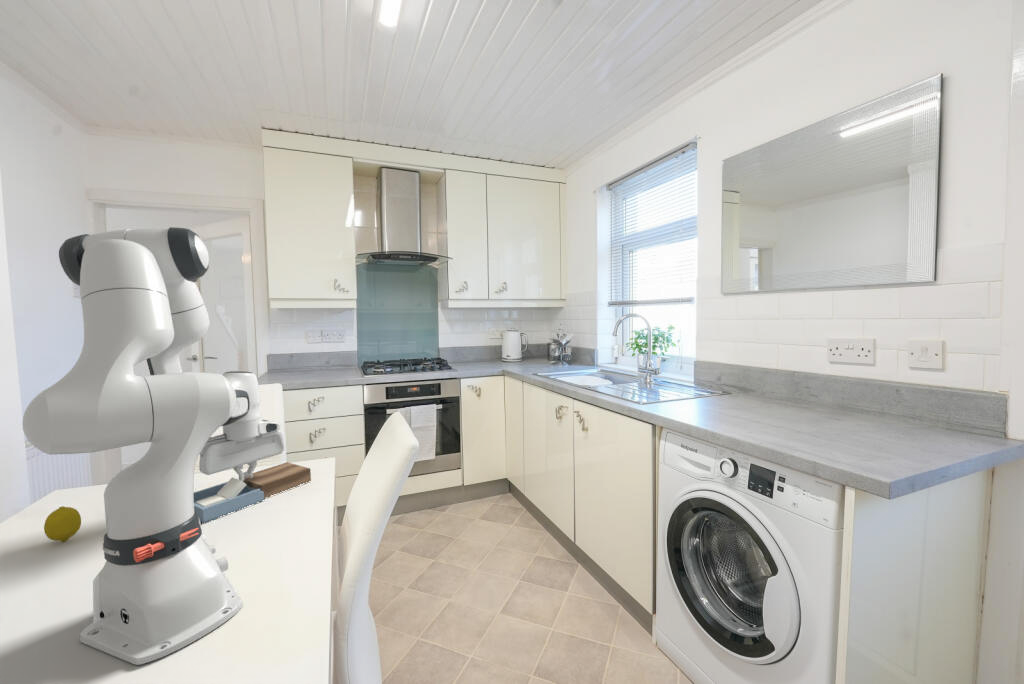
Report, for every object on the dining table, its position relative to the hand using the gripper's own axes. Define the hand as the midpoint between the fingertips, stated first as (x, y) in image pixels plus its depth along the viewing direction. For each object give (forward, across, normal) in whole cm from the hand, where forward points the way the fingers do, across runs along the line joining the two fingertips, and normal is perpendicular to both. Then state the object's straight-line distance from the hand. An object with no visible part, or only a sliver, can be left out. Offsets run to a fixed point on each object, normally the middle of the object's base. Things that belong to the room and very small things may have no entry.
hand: (246, 479), depth 112 cm
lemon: (+5, -32, +12) cm, 35 cm away
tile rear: (+2, -3, 0) cm, 4 cm away
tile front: (+2, -8, 0) cm, 9 cm away
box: (+5, -6, 0) cm, 8 cm away
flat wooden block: (+5, +8, 0) cm, 9 cm away
